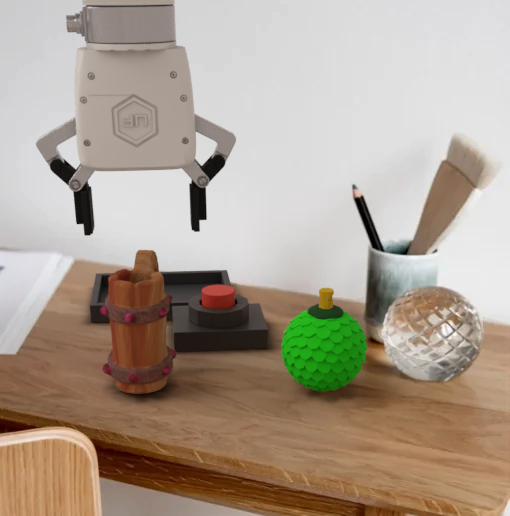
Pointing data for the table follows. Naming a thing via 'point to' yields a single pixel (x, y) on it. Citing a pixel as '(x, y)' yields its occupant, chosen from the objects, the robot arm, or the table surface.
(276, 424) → the table surface
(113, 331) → the mug
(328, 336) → the ornament
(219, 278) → the pan
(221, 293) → the button
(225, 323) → the panel
